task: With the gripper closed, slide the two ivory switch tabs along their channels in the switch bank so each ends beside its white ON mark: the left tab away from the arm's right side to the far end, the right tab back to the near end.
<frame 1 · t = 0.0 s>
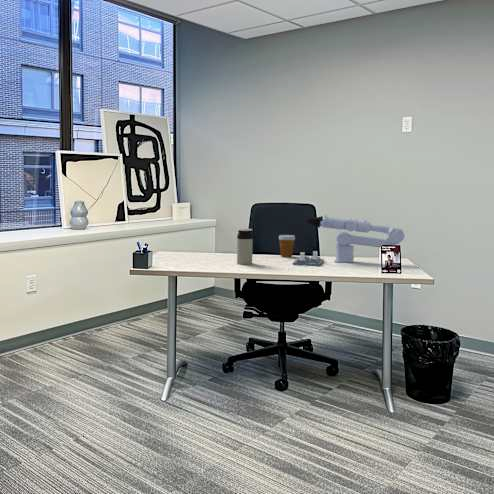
hand: (308, 220, 306), 22 cm above the table, tool horizontal, fingers open, 7 cm apart
switch bank: (308, 263, 298), on the table
tab 2: (302, 256, 295), point 4 cm above the table, slide at 3.0 cm
disposable coffee cup: (286, 257, 319), on the table
travel mug: (244, 263, 293), on the table
tab 1: (315, 255, 299), point 4 cm above the table, slide at -3.0 cm
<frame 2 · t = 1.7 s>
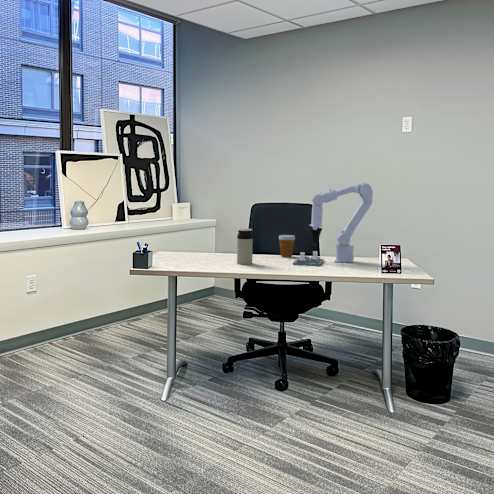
hand: (315, 241, 304), 10 cm above the table, tool pointing down, fingers open, 6 cm apart
nothing on the table moved.
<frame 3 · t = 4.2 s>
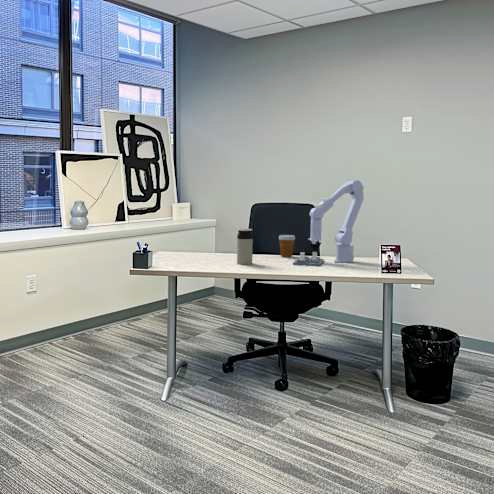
hand: (315, 255, 300), 3 cm above the table, tool pointing down, fingers closed
tab 1: (314, 256, 298), point 4 cm above the table, slide at -1.5 cm, touching gripper
everything else where it was.
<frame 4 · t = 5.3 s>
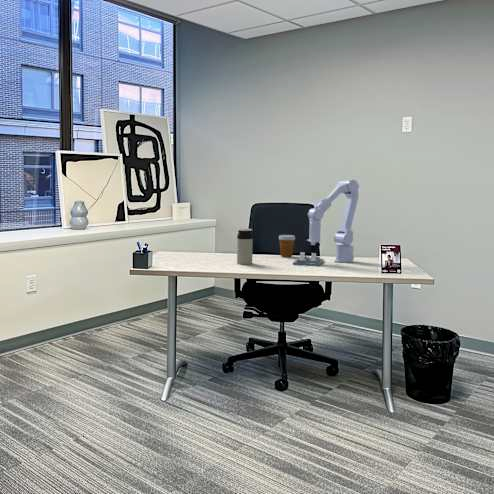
hand: (314, 257, 296), 3 cm above the table, tool pointing down, fingers closed
tab 1: (313, 257, 293), point 4 cm above the table, slide at 3.2 cm, touching gripper
everything else where it was.
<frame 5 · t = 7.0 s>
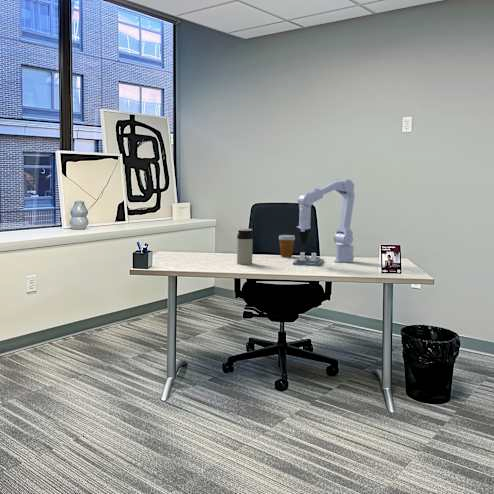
hand: (304, 244, 291), 11 cm above the table, tool pointing down, fingers closed
tab 1: (313, 257, 293), point 4 cm above the table, slide at 3.2 cm
everything else where it was.
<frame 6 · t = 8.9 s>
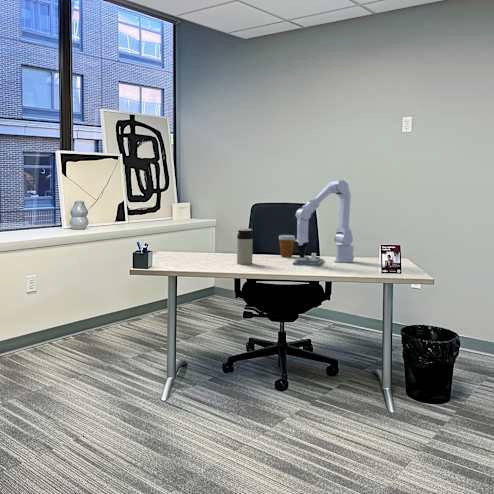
hand: (302, 257, 294), 3 cm above the table, tool pointing down, fingers closed
tab 2: (302, 256, 296), point 4 cm above the table, slide at 2.1 cm, touching gripper
everything else where it was.
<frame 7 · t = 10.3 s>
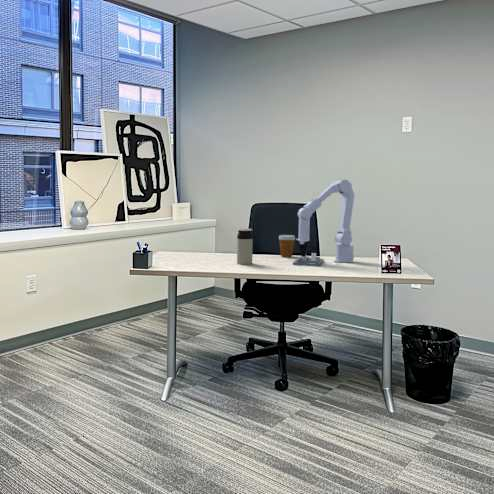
hand: (303, 256, 299), 3 cm above the table, tool pointing down, fingers closed
tab 2: (303, 255, 301), point 4 cm above the table, slide at -3.2 cm, touching gripper
everything else where it was.
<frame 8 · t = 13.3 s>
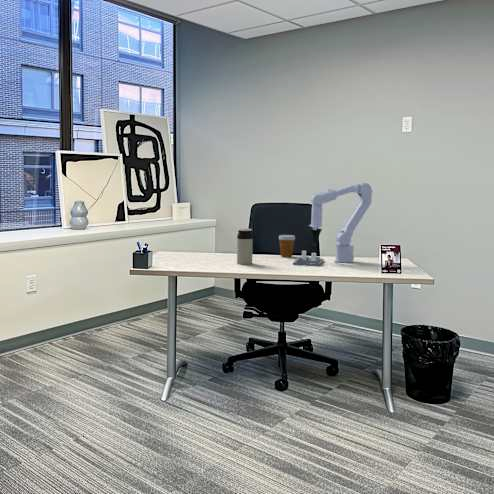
hand: (315, 242, 302), 10 cm above the table, tool pointing down, fingers closed
tab 2: (303, 255, 301), point 4 cm above the table, slide at -3.2 cm
everything else where it was.
at the end: tab 1 slide at 3.2 cm; tab 2 slide at -3.2 cm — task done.
